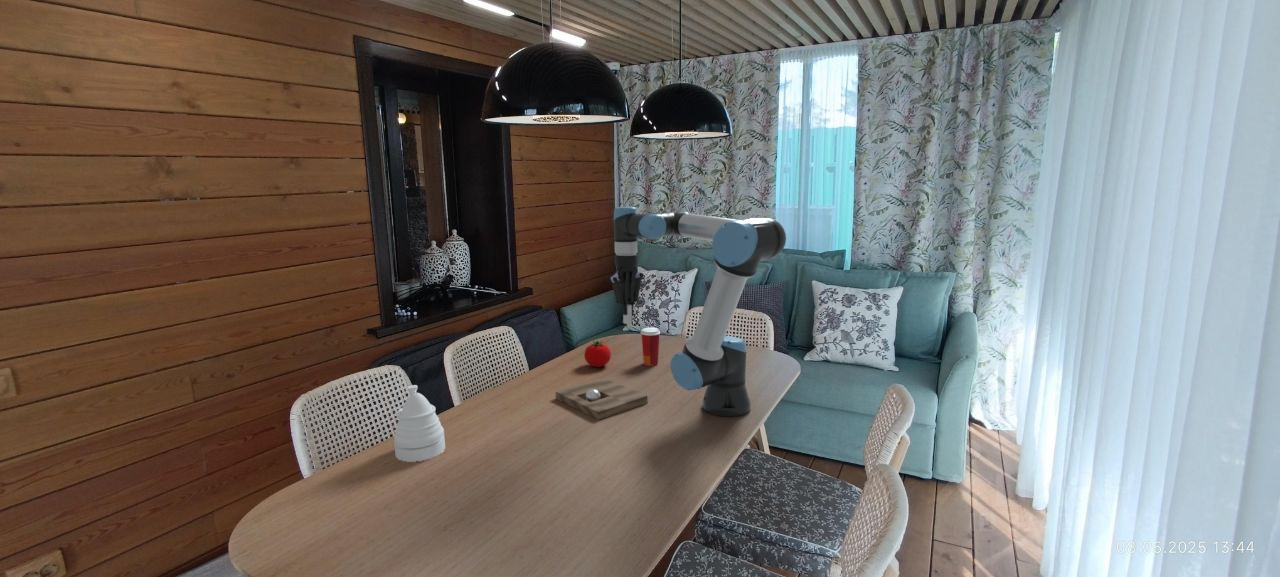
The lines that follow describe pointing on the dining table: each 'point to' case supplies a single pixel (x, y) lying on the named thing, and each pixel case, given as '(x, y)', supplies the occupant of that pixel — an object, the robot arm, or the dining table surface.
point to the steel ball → (593, 395)
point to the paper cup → (650, 345)
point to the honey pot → (418, 429)
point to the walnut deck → (602, 398)
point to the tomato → (597, 354)
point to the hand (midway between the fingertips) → (627, 323)
